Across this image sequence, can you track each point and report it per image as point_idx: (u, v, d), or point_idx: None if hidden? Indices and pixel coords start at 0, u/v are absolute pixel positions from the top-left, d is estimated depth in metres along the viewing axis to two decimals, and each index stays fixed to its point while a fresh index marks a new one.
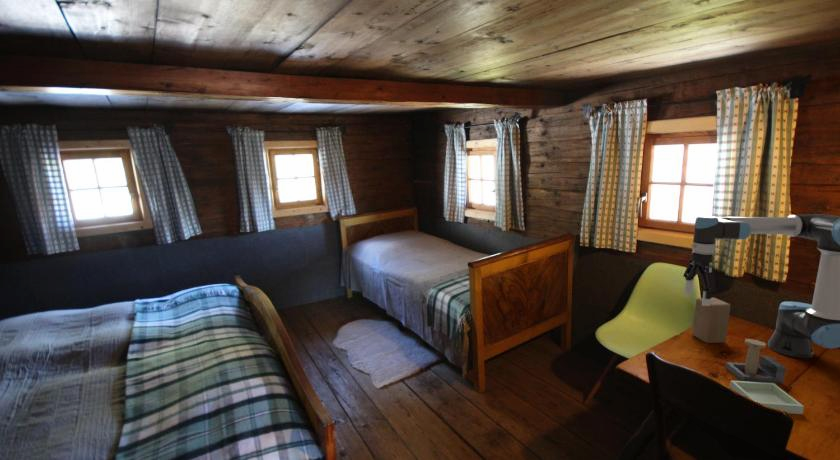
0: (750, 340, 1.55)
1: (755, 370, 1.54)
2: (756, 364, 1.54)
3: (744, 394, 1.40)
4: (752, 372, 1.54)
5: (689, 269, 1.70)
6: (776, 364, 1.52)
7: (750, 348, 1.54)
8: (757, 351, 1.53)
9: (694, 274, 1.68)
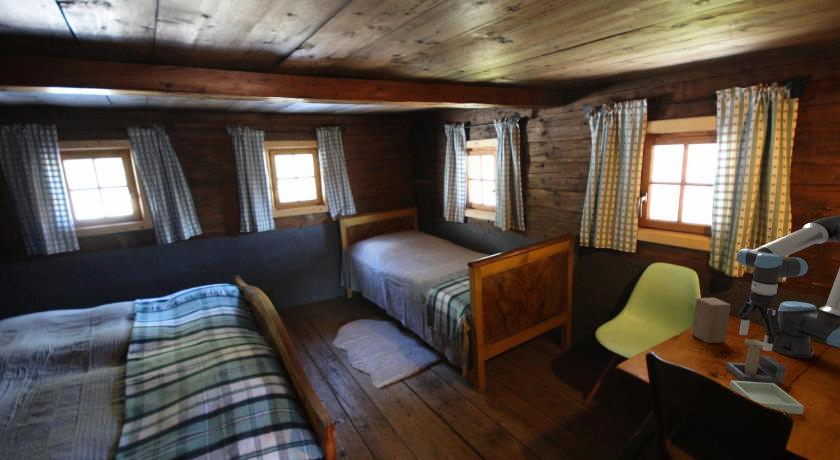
0: (750, 340, 1.55)
1: (755, 370, 1.54)
2: (756, 364, 1.54)
3: (744, 394, 1.40)
4: (752, 372, 1.54)
5: (745, 308, 1.58)
6: (776, 364, 1.52)
7: (750, 348, 1.54)
8: (757, 351, 1.53)
9: (751, 314, 1.56)
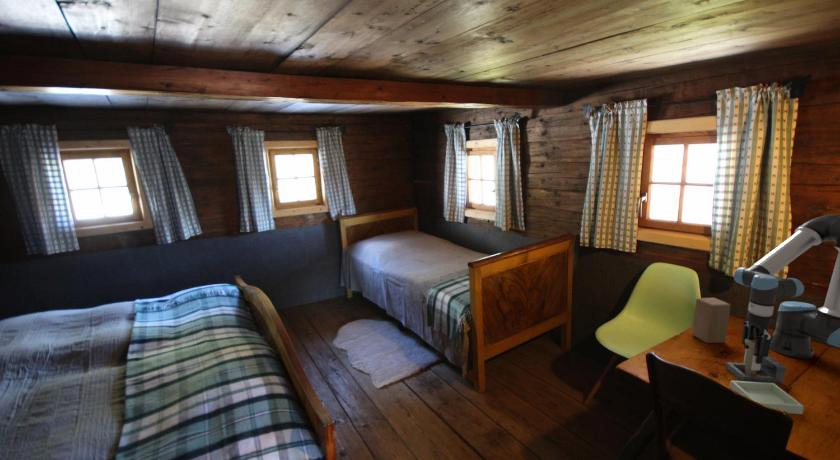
0: (750, 340, 1.55)
1: (755, 370, 1.54)
2: None
3: (744, 394, 1.40)
4: (752, 372, 1.54)
5: (746, 333, 1.58)
6: (776, 364, 1.52)
7: (750, 348, 1.54)
8: None
9: (753, 338, 1.55)
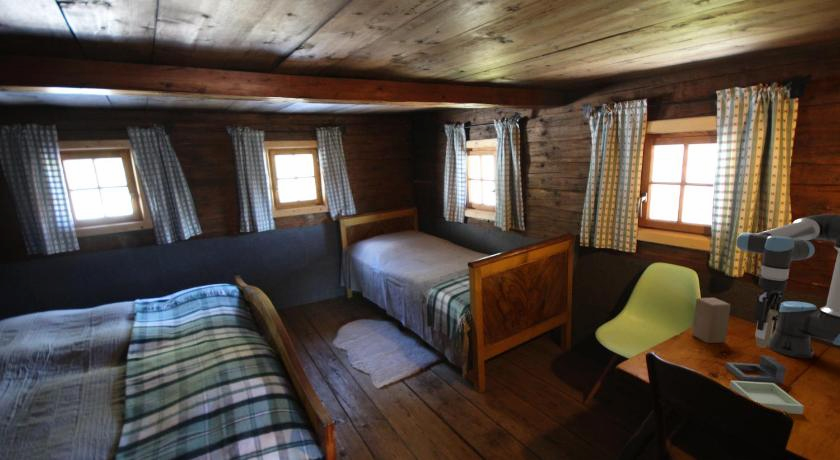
0: None
1: (761, 339, 1.44)
2: None
3: (744, 394, 1.40)
4: (758, 340, 1.45)
5: None
6: (776, 364, 1.52)
7: None
8: None
9: (771, 307, 1.43)
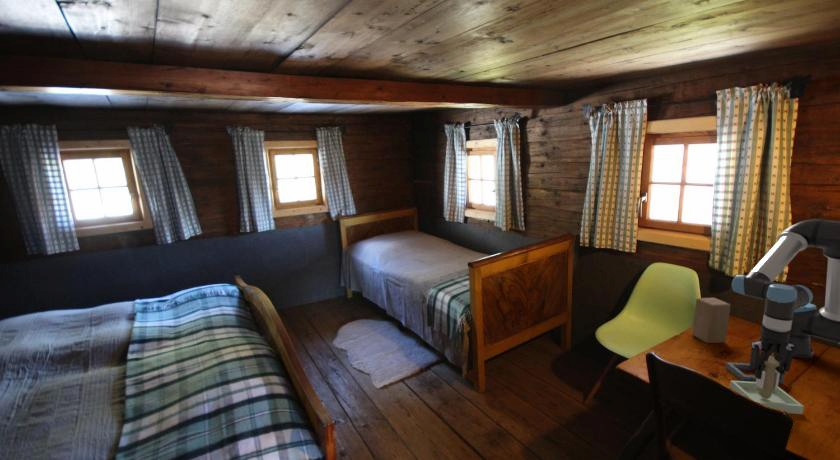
0: (772, 358, 1.39)
1: (761, 388, 1.40)
2: None
3: (744, 394, 1.40)
4: (759, 389, 1.41)
5: (784, 356, 1.38)
6: None
7: None
8: None
9: (776, 358, 1.37)
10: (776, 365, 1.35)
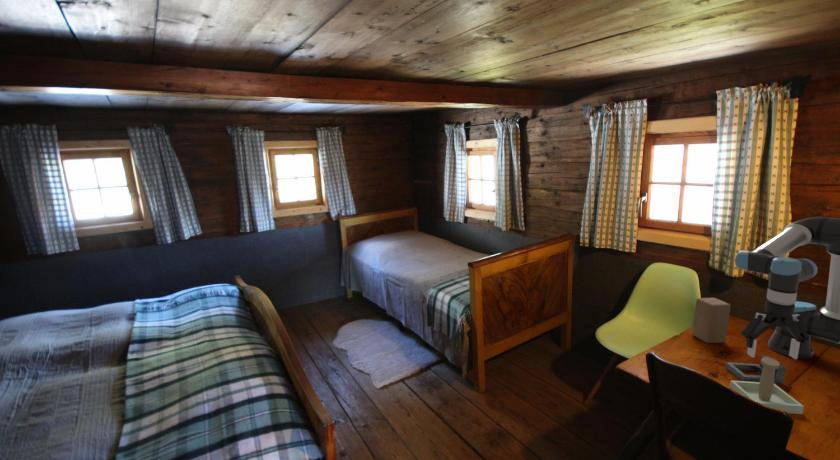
0: (772, 360, 1.39)
1: (760, 390, 1.40)
2: (761, 383, 1.40)
3: (744, 394, 1.40)
4: (759, 391, 1.41)
5: (797, 326, 1.35)
6: None
7: None
8: (764, 369, 1.39)
9: (790, 330, 1.35)
10: (776, 367, 1.35)
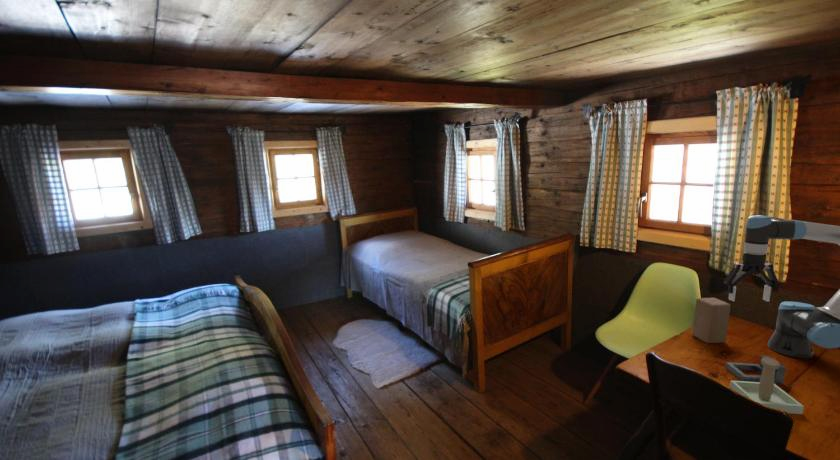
0: (772, 360, 1.39)
1: (760, 390, 1.40)
2: (761, 383, 1.40)
3: (744, 394, 1.40)
4: (759, 391, 1.41)
5: (768, 274, 1.61)
6: None
7: None
8: (764, 369, 1.39)
9: (763, 277, 1.60)
10: (776, 367, 1.35)
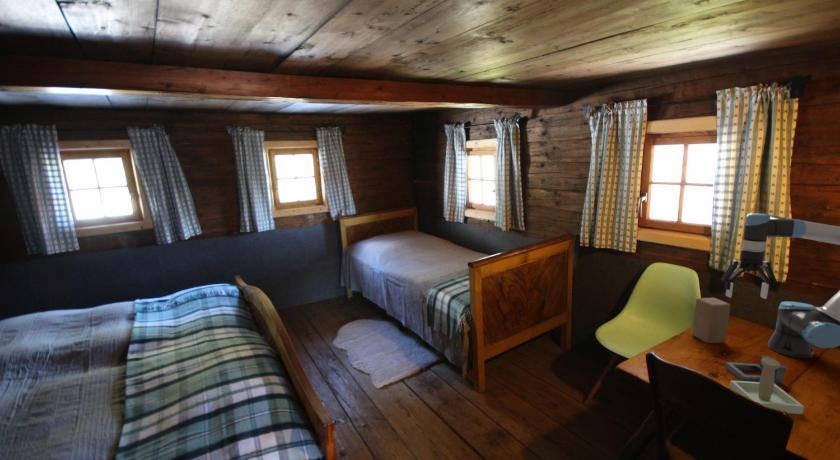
0: (772, 360, 1.39)
1: (760, 390, 1.40)
2: (761, 383, 1.40)
3: (744, 394, 1.40)
4: (759, 391, 1.41)
5: (766, 271, 1.63)
6: None
7: None
8: (764, 369, 1.39)
9: (760, 275, 1.62)
10: (776, 367, 1.35)
